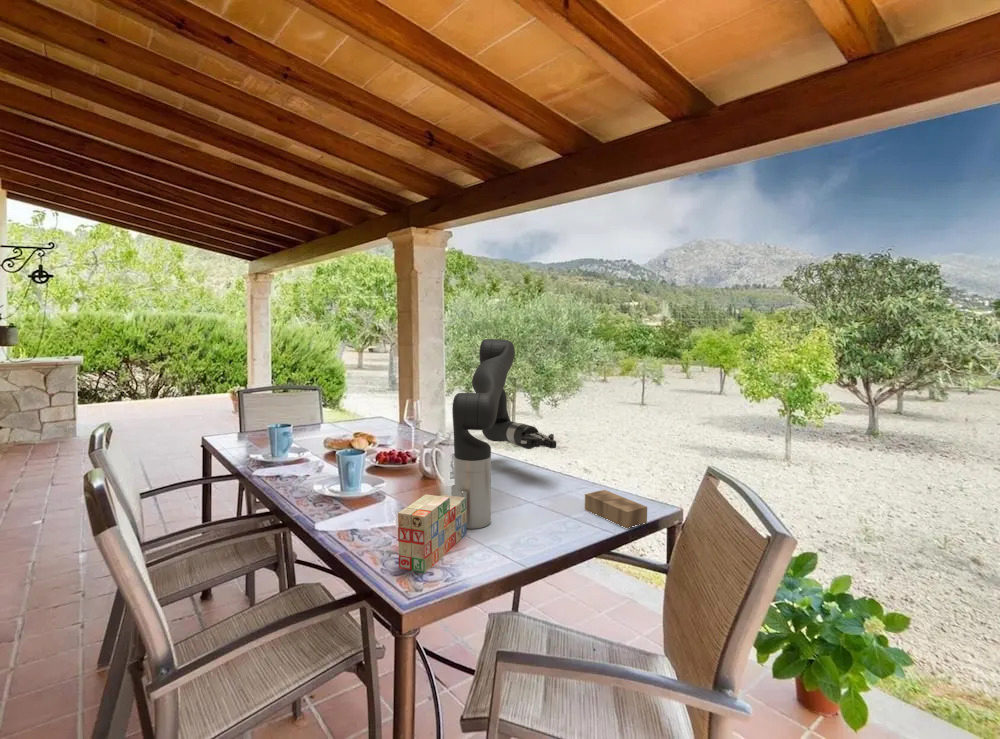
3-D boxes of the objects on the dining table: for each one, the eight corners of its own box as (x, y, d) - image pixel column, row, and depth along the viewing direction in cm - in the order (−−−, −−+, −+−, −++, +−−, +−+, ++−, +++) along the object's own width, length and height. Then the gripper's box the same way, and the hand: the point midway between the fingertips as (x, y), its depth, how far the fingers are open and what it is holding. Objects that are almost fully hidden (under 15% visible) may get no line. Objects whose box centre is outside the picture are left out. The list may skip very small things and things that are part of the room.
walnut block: (584, 509, 147) (626, 529, 134) (584, 493, 147) (627, 512, 133) (603, 505, 151) (646, 524, 137) (604, 489, 151) (647, 506, 137)
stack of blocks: (443, 531, 133) (443, 482, 132) (467, 534, 131) (466, 484, 129) (398, 569, 113) (397, 511, 112) (425, 574, 111) (424, 515, 109)
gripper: (505, 425, 174) (536, 434, 159) (539, 422, 181) (571, 430, 166) (505, 448, 175) (536, 459, 160) (538, 444, 182) (571, 454, 167)
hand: (554, 444), depth 163 cm, fingers closed
